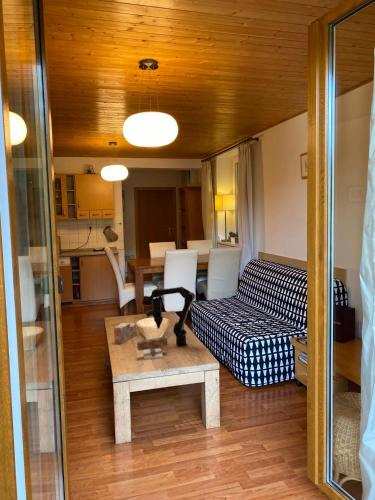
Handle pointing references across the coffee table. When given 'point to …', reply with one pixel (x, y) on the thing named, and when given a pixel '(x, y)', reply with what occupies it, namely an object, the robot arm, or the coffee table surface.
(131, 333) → the stack of blocks
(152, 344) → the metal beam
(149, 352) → the fulcrum
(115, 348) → the coffee table surface
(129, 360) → the coffee table surface
